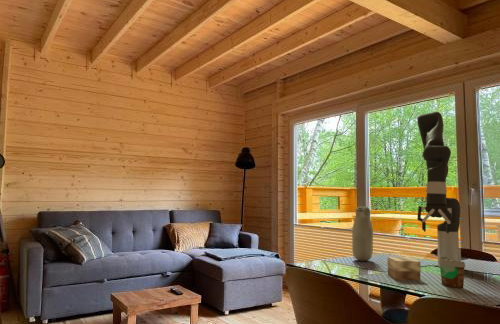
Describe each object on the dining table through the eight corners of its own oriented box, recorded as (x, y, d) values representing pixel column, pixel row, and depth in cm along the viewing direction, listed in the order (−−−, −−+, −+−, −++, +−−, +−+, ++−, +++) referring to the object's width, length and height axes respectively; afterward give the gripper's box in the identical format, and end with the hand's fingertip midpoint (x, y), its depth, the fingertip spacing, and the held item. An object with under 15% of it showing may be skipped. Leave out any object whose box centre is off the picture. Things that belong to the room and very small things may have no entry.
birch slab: (411, 267, 171) (411, 257, 172) (420, 271, 161) (420, 261, 162) (387, 266, 171) (387, 256, 172) (395, 271, 161) (395, 260, 162)
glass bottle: (349, 260, 206) (349, 206, 208) (358, 258, 213) (358, 205, 216) (367, 263, 199) (367, 206, 201) (376, 260, 207) (375, 206, 209)
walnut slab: (411, 276, 171) (411, 267, 171) (420, 281, 161) (420, 271, 161) (387, 276, 171) (387, 266, 171) (395, 281, 161) (395, 271, 161)
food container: (431, 281, 159) (431, 256, 160) (446, 281, 160) (446, 256, 160) (449, 289, 147) (449, 261, 148) (465, 289, 147) (465, 261, 148)
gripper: (454, 194, 167) (454, 233, 165) (417, 192, 173) (417, 230, 171) (456, 193, 160) (456, 234, 158) (417, 191, 166) (417, 231, 164)
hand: (436, 232), depth 165 cm, fingers open, 8 cm apart
